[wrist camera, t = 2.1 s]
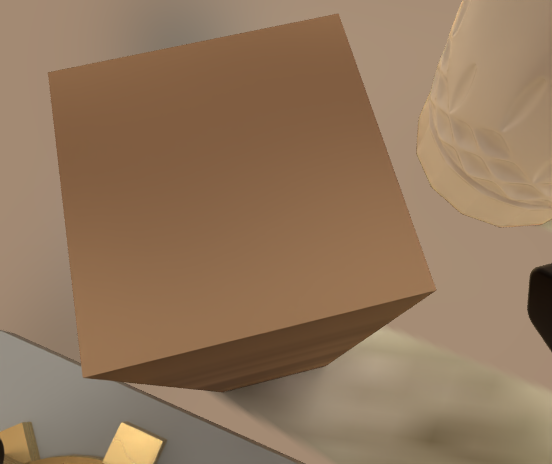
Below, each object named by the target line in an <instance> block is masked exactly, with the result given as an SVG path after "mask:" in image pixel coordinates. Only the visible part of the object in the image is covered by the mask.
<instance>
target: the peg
mask: <svg viewBox="0 0 552 464" xmlns="http://www.w3.org/2000/svg"><path fill="white" fill-rule="evenodd" d="M48 77H49V85H50V94H51V103H52V111H53V120H54V129H55V137H56V147H57V156H58V165H59V174H60V182H61V191H62V200H63V208H64V218H65V226H66V235H67V244H68V253H69V262H70V270H71V279H72V288H73V297H74V306H75V315H76V323H77V332H78V341H79V349H80V359H81V367H82V376H83V378H89V379H98V380H108V381H118V382H129V383H137V384H147V385H158V386H167V387H177V388H187V389H196V390H206V391H216V392H225V391H229V390H233V389H237V388H241V387H245V386H249V385H253V384H257V383H261V382H265V381H269V380H272V379H276V378H280V377H284V376H288V375H292V374H296V373H300V372H304V371H308V370H312V369H316V368H320V367H323V366H326V365H328V364H329V363H331V362H332V361H334V360H335V359H336V358H338V357H339V356H341V355H342V354H344V353H345V352H347V351H348V350H350V349H351V348H353V347H354V346H355V345H357V344H358V343H360V342H361V341H363V340H364V339H366V338H367V337H369V336H370V335H372V334H373V333H375V332H376V331H377V330H379V329H380V328H382V327H383V326H385V325H386V324H388V323H389V322H391V321H392V320H394V319H395V318H396V317H398V316H399V315H401V314H402V313H404V312H405V311H407V310H408V309H410V308H411V307H413V306H414V305H415V304H417V303H418V302H420V301H421V300H423V299H424V298H426V297H427V296H429V295H430V294H432V293H433V292H435V291H436V288H435V285H434V282H433V279H432V276H431V273H430V271H429V268H428V265H427V263H426V259H425V257H424V254H423V251H422V248H421V246H420V243H419V240H418V237H417V234H416V231H415V228H414V226H413V223H412V220H411V217H410V214H409V211H408V209H407V206H406V203H405V200H404V197H403V194H402V192H401V189H400V186H399V183H398V180H397V178H396V175H395V172H394V169H393V166H392V163H391V161H390V158H389V155H388V152H387V149H386V147H385V144H384V141H383V138H382V135H381V132H380V130H379V127H378V124H377V121H376V119H375V116H374V113H373V110H372V107H371V104H370V102H369V99H368V96H367V93H366V90H365V87H364V85H363V82H362V79H361V76H360V73H359V71H358V68H357V65H356V62H355V59H354V56H353V53H352V51H351V48H350V45H349V42H348V39H347V37H346V34H345V31H344V28H343V25H342V22H341V20H340V17H339V14H334V15H329V16H324V17H319V18H314V19H309V20H305V21H300V22H294V23H290V24H285V25H280V26H275V27H270V28H265V29H260V30H255V31H250V32H245V33H240V34H235V35H230V36H226V37H220V38H215V39H211V40H206V41H201V42H196V43H191V44H186V45H181V46H176V47H171V48H166V49H162V50H156V51H152V52H146V53H142V54H136V55H132V56H127V57H122V58H117V59H112V60H107V61H102V62H97V63H92V64H87V65H82V66H78V67H72V68H67V69H62V70H58V71H53V72H48Z"/></svg>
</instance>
